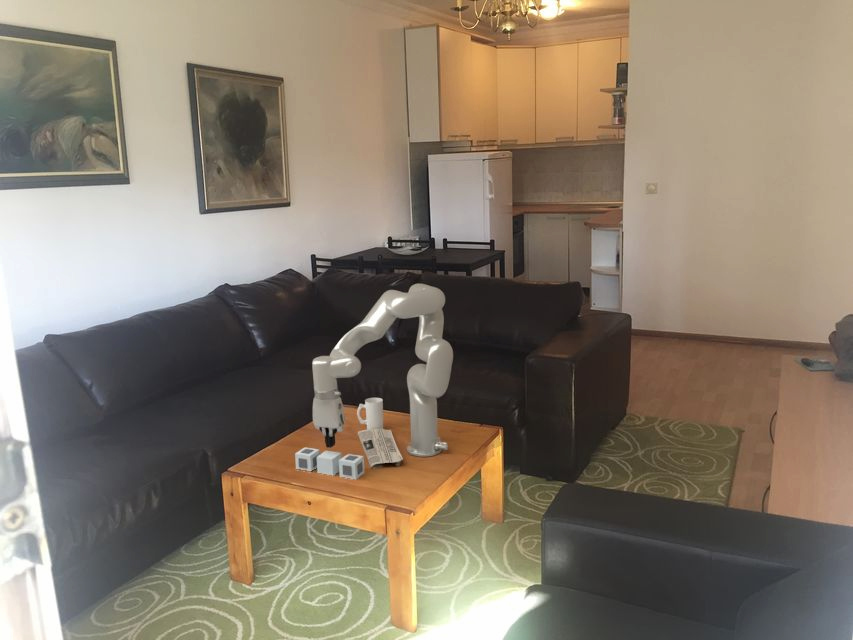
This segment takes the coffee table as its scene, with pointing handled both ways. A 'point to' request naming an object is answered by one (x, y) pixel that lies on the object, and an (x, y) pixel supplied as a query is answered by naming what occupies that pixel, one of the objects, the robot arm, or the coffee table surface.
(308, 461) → the marked block far
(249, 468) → the coffee table surface
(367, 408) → the mug
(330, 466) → the plain block
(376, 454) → the newspaper
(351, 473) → the marked block near
